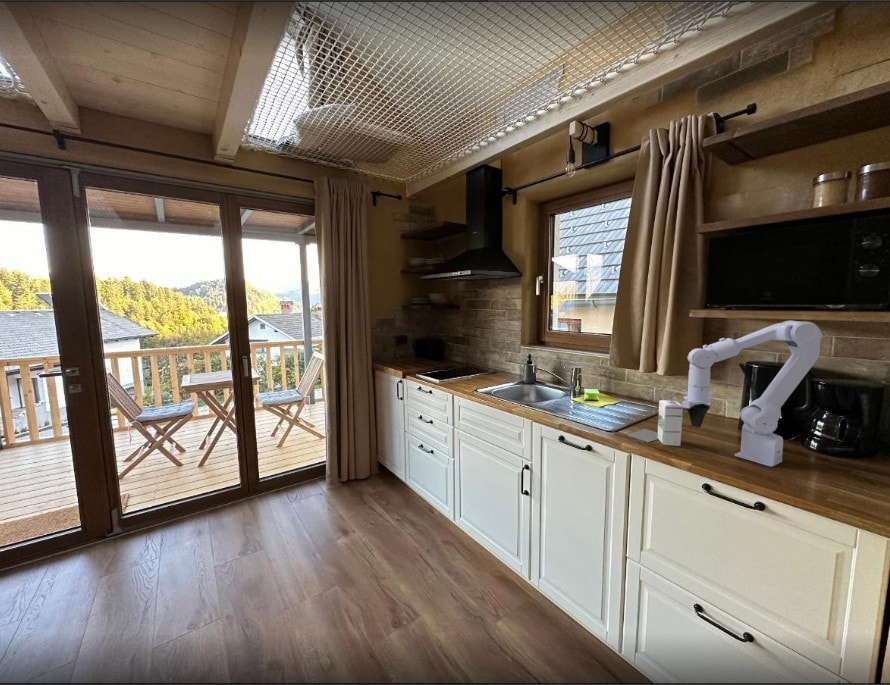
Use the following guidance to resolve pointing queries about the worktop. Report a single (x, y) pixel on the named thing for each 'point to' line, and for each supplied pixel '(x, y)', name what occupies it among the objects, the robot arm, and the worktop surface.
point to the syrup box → (670, 422)
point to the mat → (644, 435)
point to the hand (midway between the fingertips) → (696, 426)
